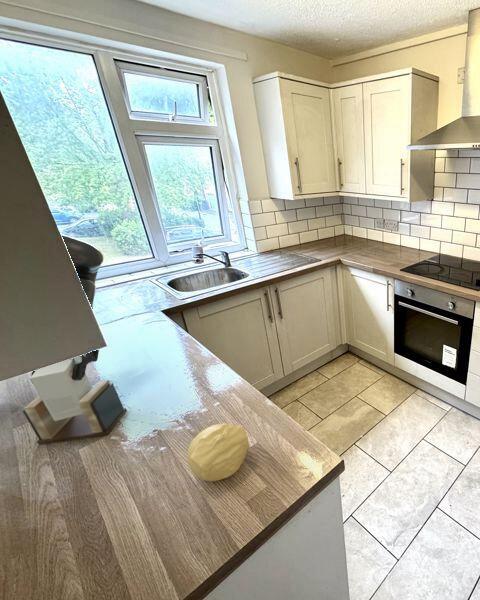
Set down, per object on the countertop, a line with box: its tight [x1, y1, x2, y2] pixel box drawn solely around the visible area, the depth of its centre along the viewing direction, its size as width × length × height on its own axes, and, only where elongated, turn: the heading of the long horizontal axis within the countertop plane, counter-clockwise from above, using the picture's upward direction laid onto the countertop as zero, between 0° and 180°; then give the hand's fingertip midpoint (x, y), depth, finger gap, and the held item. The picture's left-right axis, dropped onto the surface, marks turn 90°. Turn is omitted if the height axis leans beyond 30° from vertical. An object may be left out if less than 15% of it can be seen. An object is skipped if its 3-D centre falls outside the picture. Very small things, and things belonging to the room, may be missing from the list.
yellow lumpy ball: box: [187, 423, 250, 482], centre depth 73 cm, size 12×12×11 cm
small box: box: [29, 358, 93, 421], centre depth 81 cm, size 8×6×13 cm
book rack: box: [22, 379, 128, 445], centre depth 84 cm, size 15×9×11 cm, turn 101°
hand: (57, 381), depth 79 cm, fingers closed on small box, 7 cm apart
